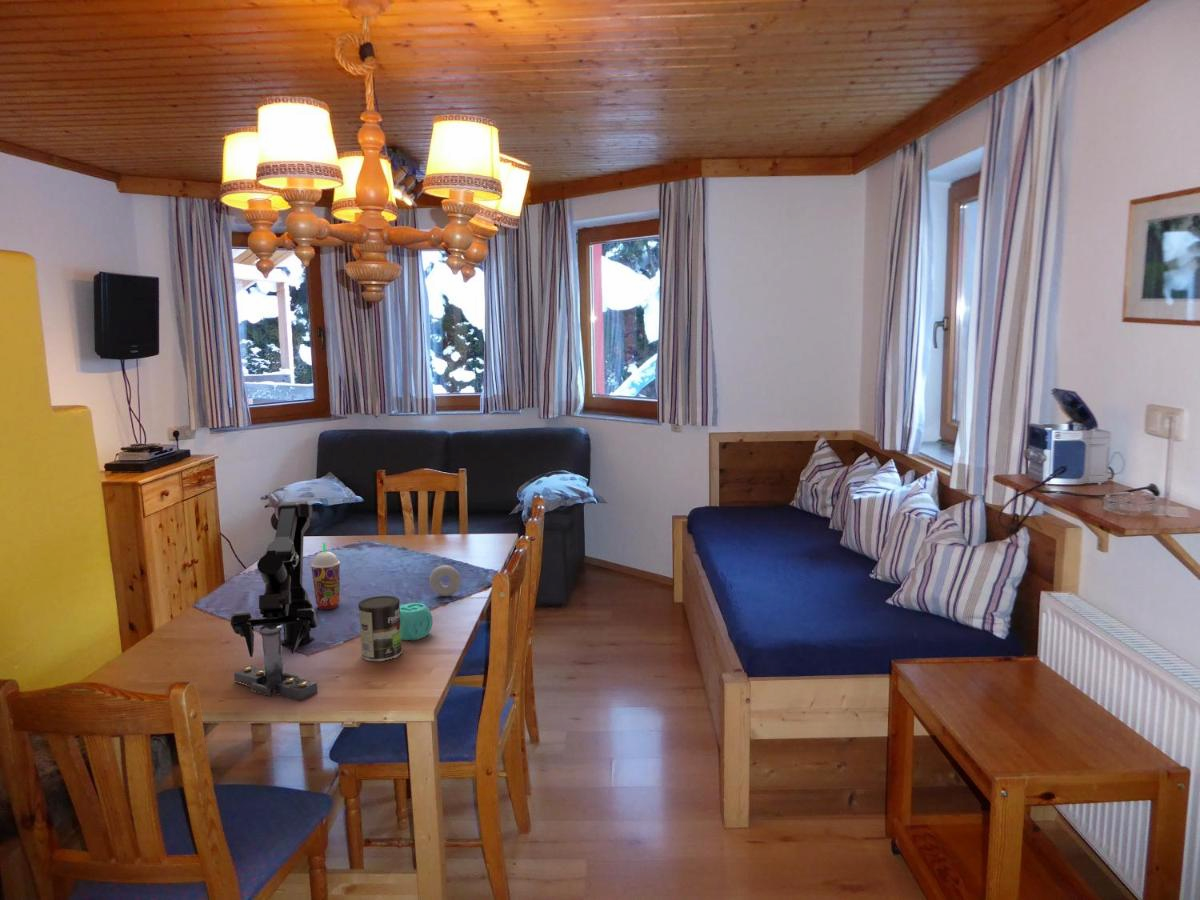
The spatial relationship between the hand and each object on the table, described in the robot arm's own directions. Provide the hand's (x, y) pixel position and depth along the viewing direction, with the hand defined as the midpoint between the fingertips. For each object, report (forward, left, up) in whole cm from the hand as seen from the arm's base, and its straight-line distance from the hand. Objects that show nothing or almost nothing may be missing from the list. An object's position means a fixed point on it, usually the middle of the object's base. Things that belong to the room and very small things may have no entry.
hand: (271, 654), depth 197 cm
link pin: (-1, +1, -9) cm, 9 cm away
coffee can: (+7, +28, -9) cm, 30 cm away
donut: (-9, +73, -9) cm, 74 cm away
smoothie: (-35, +49, -9) cm, 61 cm away
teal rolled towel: (+5, +42, -9) cm, 43 cm away
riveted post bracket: (-1, +1, -8) cm, 9 cm away
